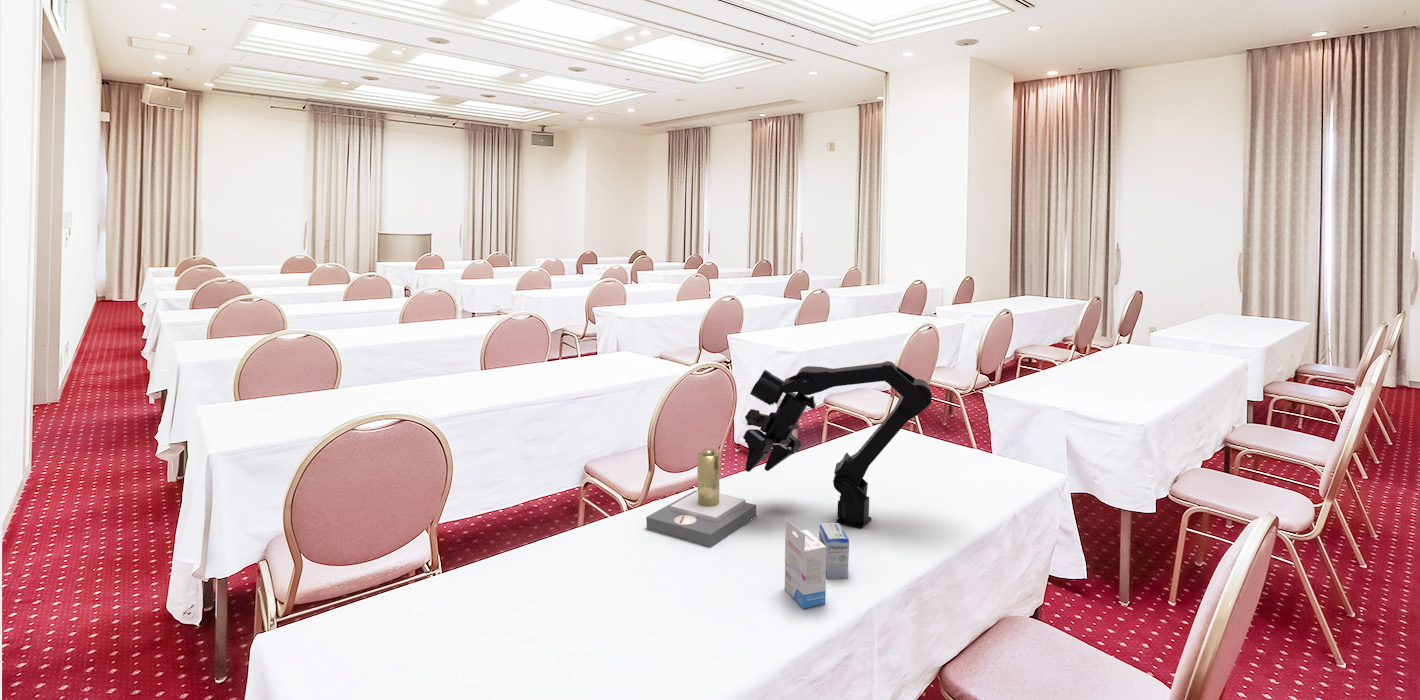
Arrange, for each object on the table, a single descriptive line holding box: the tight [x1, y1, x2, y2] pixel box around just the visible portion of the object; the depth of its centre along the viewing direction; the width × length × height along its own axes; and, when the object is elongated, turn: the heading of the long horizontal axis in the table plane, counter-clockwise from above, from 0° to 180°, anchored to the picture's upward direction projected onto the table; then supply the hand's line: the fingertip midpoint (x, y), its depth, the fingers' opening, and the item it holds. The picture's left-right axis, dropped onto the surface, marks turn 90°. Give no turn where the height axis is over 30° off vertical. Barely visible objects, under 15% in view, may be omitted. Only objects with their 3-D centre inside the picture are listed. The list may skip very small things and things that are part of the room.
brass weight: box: [696, 448, 720, 507], centre depth 178 cm, size 5×5×13 cm
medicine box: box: [818, 522, 850, 580], centre depth 153 cm, size 8×4×9 cm, turn 5°
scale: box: [645, 489, 757, 548], centre depth 177 cm, size 18×20×4 cm
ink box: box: [784, 518, 827, 610], centre depth 142 cm, size 8×5×15 cm, turn 20°
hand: (756, 470), depth 180 cm, fingers open, 9 cm apart
